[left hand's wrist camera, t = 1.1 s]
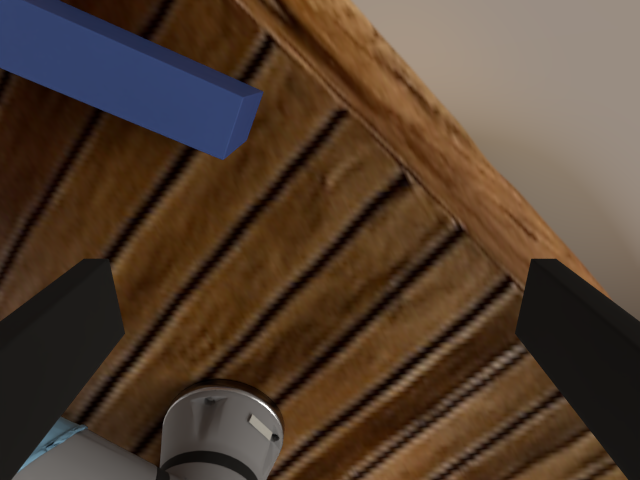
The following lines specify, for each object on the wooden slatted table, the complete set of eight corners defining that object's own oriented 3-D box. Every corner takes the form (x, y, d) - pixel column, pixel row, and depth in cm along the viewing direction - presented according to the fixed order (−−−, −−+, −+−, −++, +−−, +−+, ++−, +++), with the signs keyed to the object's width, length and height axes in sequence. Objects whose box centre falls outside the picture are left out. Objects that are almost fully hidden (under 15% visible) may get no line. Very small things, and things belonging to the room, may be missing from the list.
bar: (263, 91, 36) (243, 97, 27) (246, 140, 38) (223, 160, 29) (-43, -45, 32) (-177, -88, 24) (-47, 16, 34) (-173, -4, 25)
